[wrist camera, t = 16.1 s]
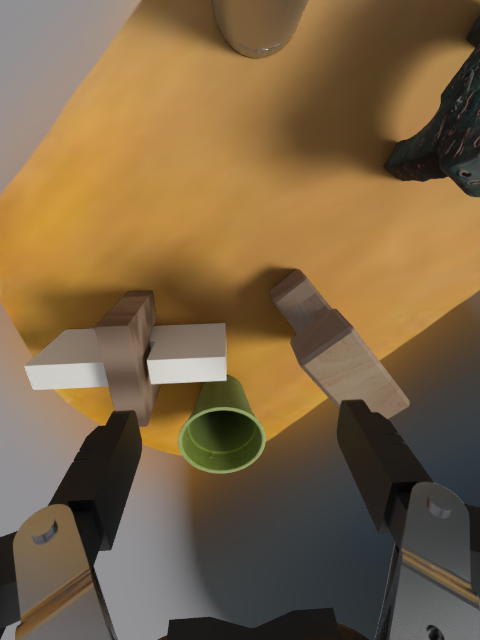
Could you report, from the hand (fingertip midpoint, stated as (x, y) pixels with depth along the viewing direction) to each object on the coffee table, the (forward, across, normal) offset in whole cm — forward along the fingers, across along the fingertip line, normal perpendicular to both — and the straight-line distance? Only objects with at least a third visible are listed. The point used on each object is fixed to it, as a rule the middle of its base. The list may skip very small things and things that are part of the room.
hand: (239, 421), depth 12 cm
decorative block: (+32, -11, +8) cm, 35 cm away
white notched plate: (+32, +13, +12) cm, 37 cm away
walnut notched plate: (+32, +13, +12) cm, 37 cm away
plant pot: (+32, +2, +23) cm, 40 cm away
